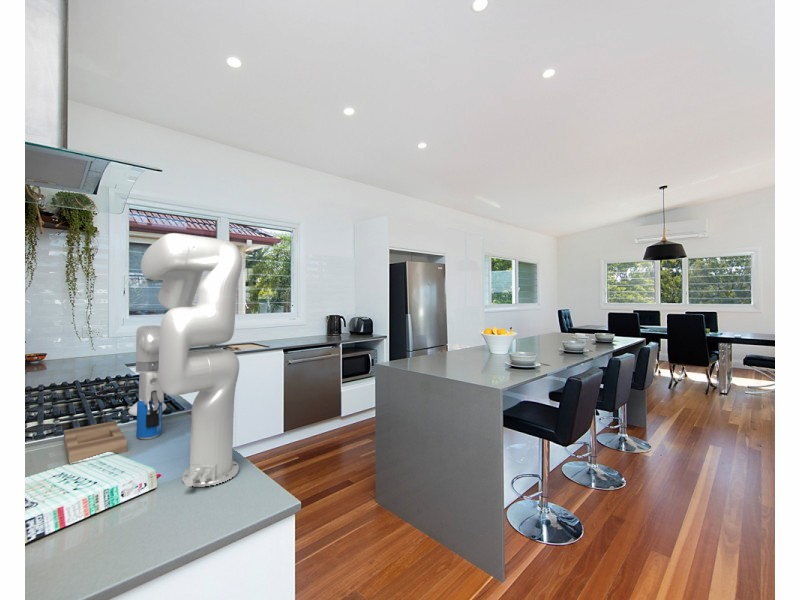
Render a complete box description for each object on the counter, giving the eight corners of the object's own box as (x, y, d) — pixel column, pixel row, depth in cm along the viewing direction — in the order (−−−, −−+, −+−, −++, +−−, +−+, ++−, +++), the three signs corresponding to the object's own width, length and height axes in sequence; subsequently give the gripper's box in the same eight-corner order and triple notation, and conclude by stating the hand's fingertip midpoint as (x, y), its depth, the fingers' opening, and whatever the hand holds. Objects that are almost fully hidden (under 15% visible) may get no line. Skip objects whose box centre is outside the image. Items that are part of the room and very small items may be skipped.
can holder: (126, 451, 103) (126, 441, 103) (69, 465, 94) (69, 453, 94) (114, 430, 117) (114, 421, 117) (63, 440, 108) (63, 430, 108)
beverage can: (152, 441, 110) (153, 401, 110) (131, 440, 110) (131, 400, 110) (166, 432, 117) (167, 395, 116) (146, 431, 117) (147, 394, 116)
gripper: (172, 369, 109) (171, 428, 110) (157, 359, 121) (156, 413, 122) (142, 372, 104) (140, 435, 105) (130, 362, 116) (129, 418, 117)
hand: (149, 422), depth 113 cm, fingers closed on beverage can, 6 cm apart
